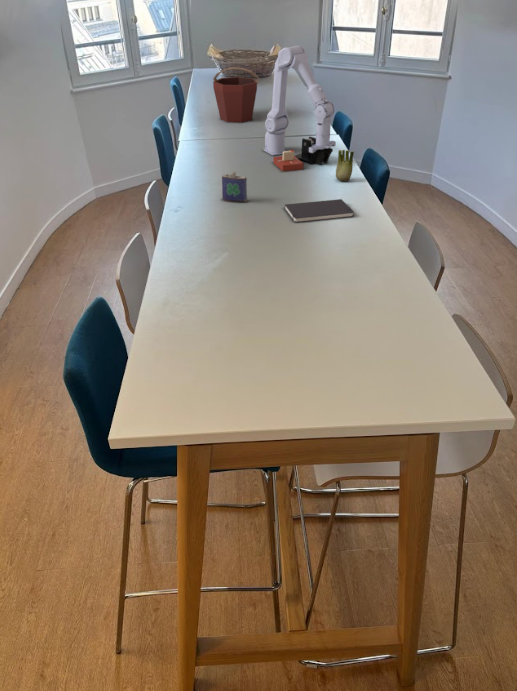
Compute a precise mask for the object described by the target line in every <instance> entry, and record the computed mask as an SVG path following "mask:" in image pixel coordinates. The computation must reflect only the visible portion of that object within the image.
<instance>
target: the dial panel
mask: <svg viewBox="0 0 517 691" xmlns="http://www.w3.org/2000/svg"><path fill="white" fill-rule="evenodd" d="M272 160H273V164H274V165H275V166H276V167H277V168H278V169H279V170H280V171H282V172H291V171H292V172H293V171H300V170H304V162H302V161H300V160H299V159H297V158H296V157H295V156H294V160H288V161H283V155H280V156H278V155H277V156H273V158H272Z"/></svg>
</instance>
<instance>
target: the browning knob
mask: <svg viewBox="0 0 517 691" xmlns="http://www.w3.org/2000/svg"><path fill="white" fill-rule="evenodd" d="M294 155H295V151H294V150H293V149H290V150H285V151H283V154H282V156H283V161H288V160H294Z"/></svg>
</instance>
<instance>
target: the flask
mask: <svg viewBox="0 0 517 691" xmlns="http://www.w3.org/2000/svg"><path fill="white" fill-rule="evenodd" d="M247 180H248V178H247V177H246V176H243V175H237V171H235V170H234V171H232V172H231V174H230V173H229V174H228V173H226V174H222V176H221V188H222V190H221V191H222V192H221V193H222V201H224V202H229V203H230V202H231V203H247V201H248V187H247V186H248V184H247Z"/></svg>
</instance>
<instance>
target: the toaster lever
mask: <svg viewBox="0 0 517 691" xmlns="http://www.w3.org/2000/svg"><path fill="white" fill-rule="evenodd" d="M307 139H308V140H311V147H312V146H313V144H314V141H313V140H312V139H311V138H309V137H308V138H307ZM324 158H325V153H324V155H323V158H322V159H324Z"/></svg>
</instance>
